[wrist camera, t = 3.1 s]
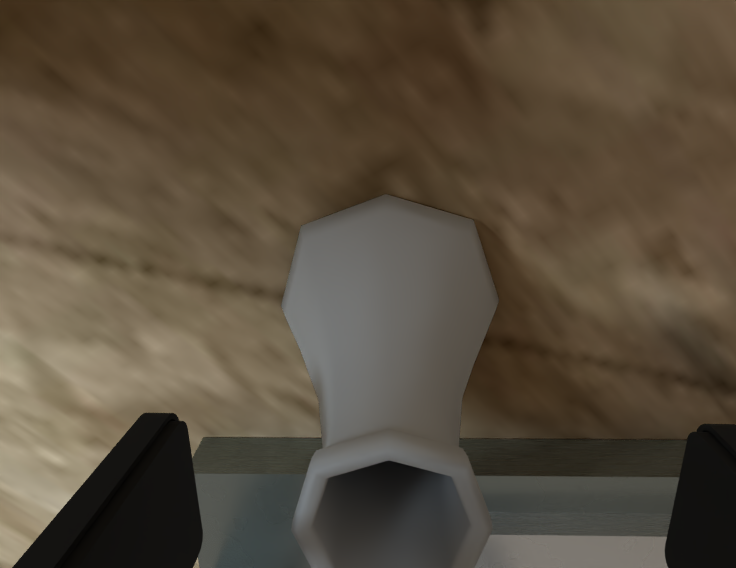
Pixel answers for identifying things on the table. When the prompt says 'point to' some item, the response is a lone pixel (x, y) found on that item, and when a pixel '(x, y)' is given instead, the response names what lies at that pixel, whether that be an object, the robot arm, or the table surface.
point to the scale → (498, 487)
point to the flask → (390, 384)
